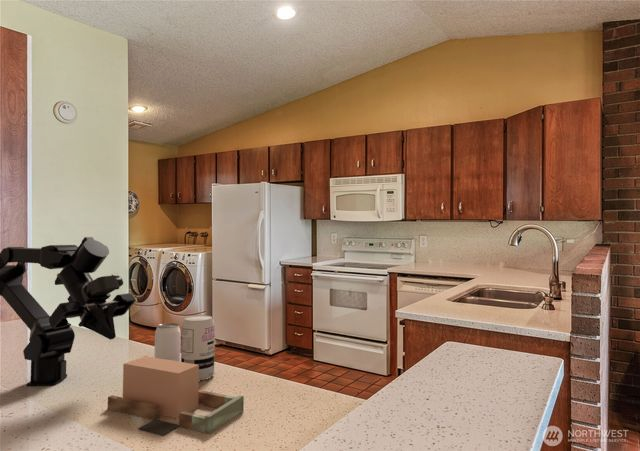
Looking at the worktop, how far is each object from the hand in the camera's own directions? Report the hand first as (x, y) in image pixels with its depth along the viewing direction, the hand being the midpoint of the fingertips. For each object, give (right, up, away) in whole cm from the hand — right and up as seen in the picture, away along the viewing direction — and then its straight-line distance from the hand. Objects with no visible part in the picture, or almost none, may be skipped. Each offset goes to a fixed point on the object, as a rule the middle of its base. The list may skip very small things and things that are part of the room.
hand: (113, 338), depth 93 cm
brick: (+13, -13, -6) cm, 19 cm away
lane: (+17, -13, -8) cm, 22 cm away
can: (+6, -14, +18) cm, 23 cm away
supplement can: (+15, -14, +13) cm, 24 cm away
